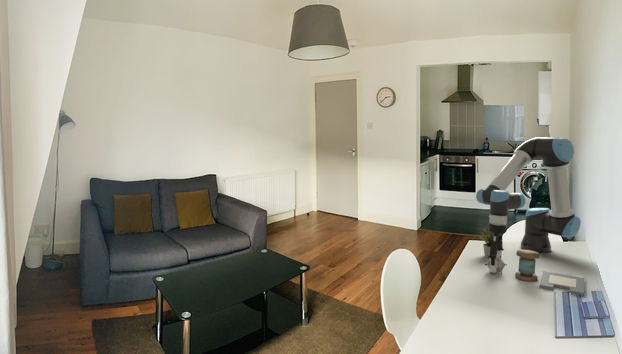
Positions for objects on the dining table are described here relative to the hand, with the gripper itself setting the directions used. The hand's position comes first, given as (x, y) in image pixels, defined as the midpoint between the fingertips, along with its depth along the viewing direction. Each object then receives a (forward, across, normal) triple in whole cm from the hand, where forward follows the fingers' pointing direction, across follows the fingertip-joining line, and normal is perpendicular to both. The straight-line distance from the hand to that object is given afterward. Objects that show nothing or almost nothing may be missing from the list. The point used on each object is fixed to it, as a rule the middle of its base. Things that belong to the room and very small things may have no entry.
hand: (495, 267), depth 194 cm
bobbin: (+2, 0, +13) cm, 13 cm away
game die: (+3, 0, 0) cm, 3 cm away
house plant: (+2, -24, -8) cm, 26 cm away
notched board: (+2, 0, +27) cm, 27 cm away
